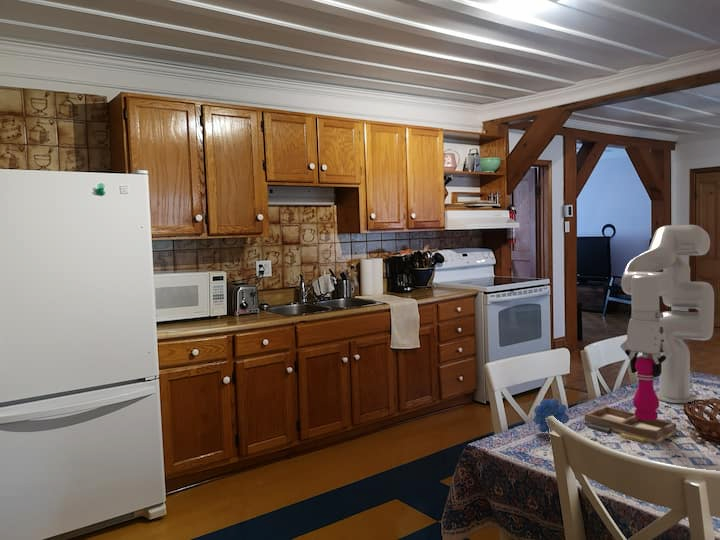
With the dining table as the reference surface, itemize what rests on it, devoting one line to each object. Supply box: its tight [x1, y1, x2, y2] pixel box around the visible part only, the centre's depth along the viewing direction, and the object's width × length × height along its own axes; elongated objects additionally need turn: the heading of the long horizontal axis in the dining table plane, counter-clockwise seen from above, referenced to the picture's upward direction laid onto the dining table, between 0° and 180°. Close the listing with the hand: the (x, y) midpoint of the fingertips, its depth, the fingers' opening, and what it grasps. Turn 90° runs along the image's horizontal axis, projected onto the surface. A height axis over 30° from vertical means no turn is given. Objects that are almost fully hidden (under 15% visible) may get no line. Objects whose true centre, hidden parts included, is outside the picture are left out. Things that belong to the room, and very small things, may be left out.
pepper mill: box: [632, 353, 660, 420], centre depth 173 cm, size 7×7×20 cm
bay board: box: [584, 405, 677, 444], centre depth 178 cm, size 14×23×3 cm, turn 36°
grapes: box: [533, 397, 570, 434], centre depth 176 cm, size 12×7×12 cm, turn 43°
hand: (645, 373), depth 173 cm, fingers closed on pepper mill, 6 cm apart
